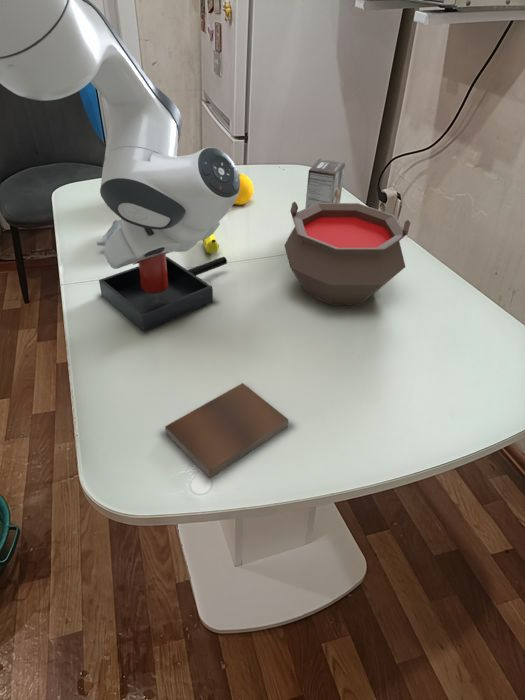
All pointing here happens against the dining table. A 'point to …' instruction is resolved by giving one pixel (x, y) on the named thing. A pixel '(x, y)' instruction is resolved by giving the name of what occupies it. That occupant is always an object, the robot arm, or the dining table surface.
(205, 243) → the banana
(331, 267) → the brown soup pot
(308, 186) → the coffee box
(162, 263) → the red cylinder
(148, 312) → the steel pan
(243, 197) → the yellow rounded piece
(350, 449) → the dining table surface
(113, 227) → the packaged food
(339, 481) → the dining table surface
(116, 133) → the robot arm
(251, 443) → the walnut board
